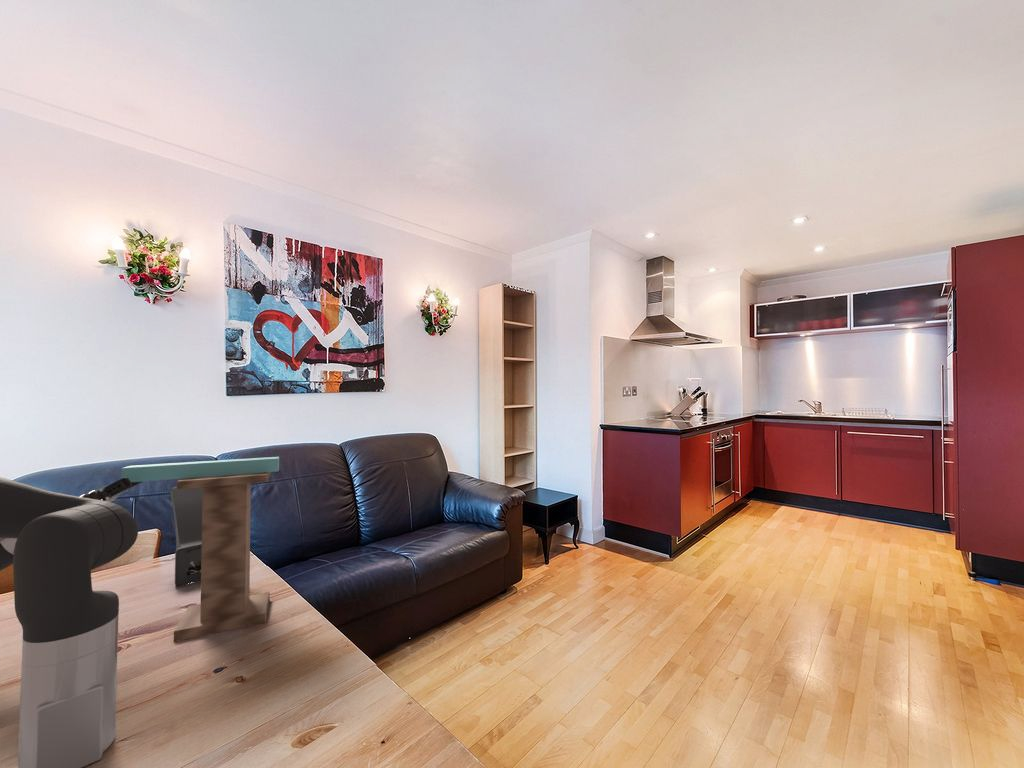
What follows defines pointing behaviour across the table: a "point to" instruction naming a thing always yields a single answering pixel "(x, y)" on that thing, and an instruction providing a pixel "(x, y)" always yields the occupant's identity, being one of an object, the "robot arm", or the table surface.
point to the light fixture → (187, 534)
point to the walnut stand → (224, 558)
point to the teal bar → (200, 469)
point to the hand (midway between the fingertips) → (137, 477)
